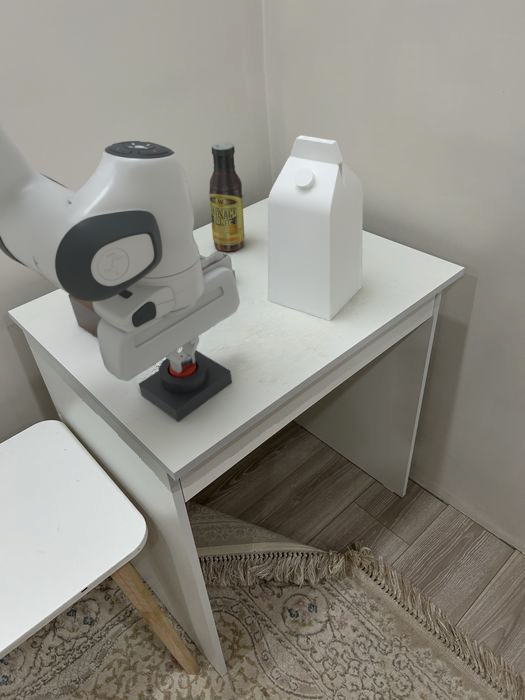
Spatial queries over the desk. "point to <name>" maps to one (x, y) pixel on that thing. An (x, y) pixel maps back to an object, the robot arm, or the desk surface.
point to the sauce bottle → (226, 200)
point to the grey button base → (185, 386)
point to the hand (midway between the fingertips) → (183, 366)
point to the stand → (85, 314)
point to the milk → (315, 230)
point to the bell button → (184, 371)
